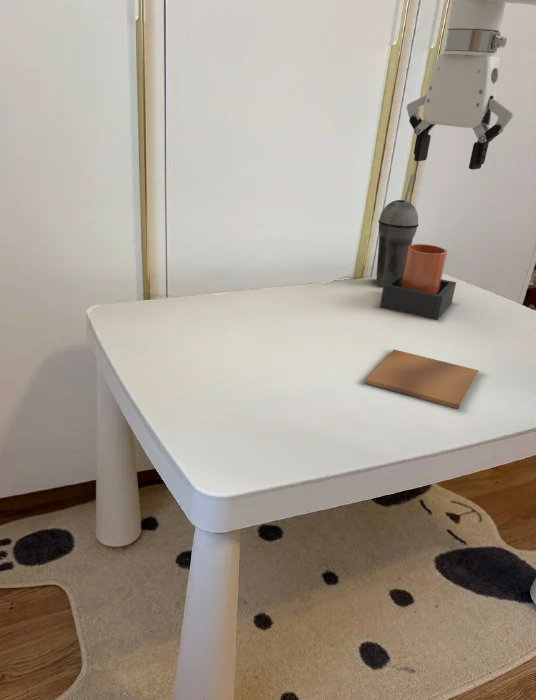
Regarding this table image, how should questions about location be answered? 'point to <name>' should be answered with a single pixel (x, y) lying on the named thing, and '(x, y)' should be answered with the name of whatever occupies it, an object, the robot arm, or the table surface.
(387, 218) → the beverage cup
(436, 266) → the tumbler
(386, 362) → the cork mat
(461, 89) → the robot arm
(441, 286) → the cup holder
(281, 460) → the table surface
